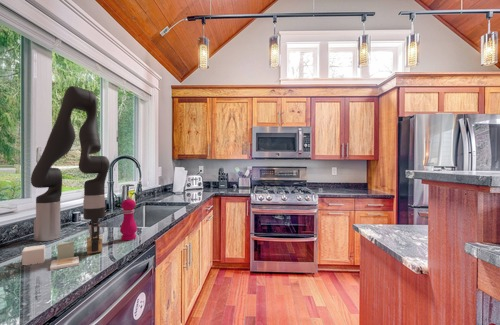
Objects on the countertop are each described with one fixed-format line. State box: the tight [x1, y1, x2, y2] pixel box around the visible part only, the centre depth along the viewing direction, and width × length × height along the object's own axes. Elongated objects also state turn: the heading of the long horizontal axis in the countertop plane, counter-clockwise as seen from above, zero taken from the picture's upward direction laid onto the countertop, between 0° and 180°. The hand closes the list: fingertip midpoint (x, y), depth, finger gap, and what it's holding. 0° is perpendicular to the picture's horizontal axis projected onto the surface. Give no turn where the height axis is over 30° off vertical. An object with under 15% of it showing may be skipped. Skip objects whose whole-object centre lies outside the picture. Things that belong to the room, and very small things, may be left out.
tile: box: [49, 255, 80, 271], centre depth 95 cm, size 8×8×1 cm
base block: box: [21, 244, 46, 266], centre depth 98 cm, size 6×6×5 cm
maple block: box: [86, 235, 103, 255], centre depth 108 cm, size 5×5×5 cm
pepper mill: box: [119, 195, 138, 242], centre depth 127 cm, size 7×7×20 cm
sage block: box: [57, 240, 75, 260], centre depth 103 cm, size 5×5×5 cm
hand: (94, 249), depth 108 cm, fingers closed on maple block, 5 cm apart
